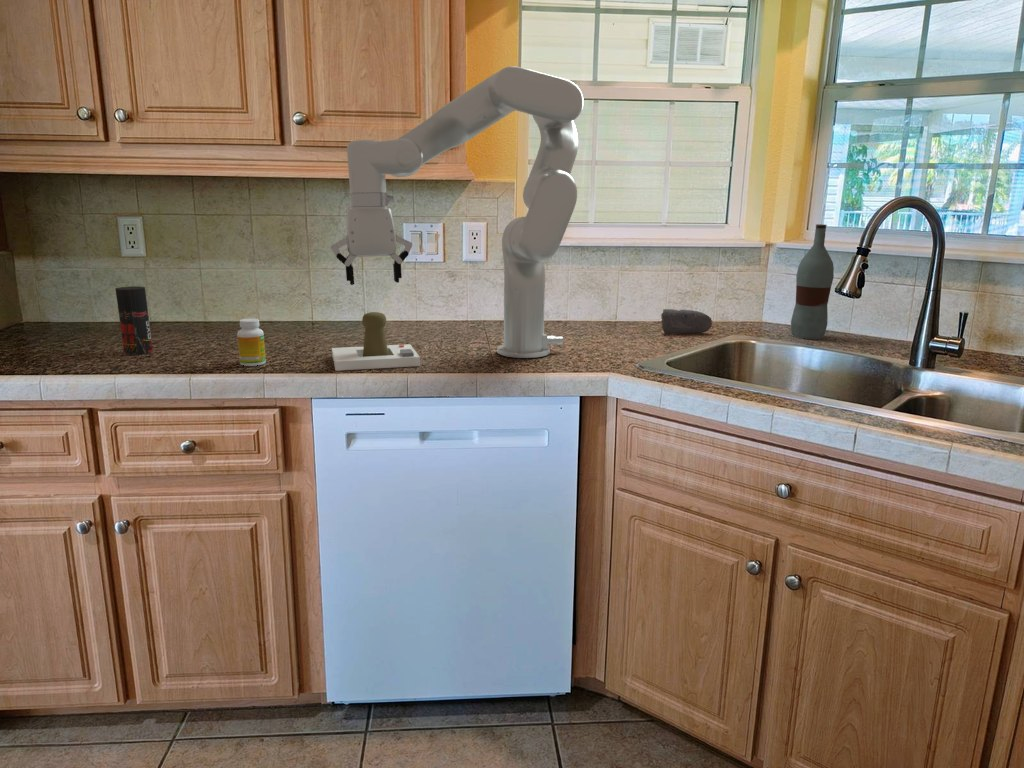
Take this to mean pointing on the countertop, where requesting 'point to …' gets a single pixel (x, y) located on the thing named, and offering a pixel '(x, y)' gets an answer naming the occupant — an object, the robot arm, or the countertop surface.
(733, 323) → the countertop surface
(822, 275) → the vodka
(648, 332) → the countertop surface
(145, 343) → the deodorant
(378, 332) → the cork
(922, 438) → the countertop surface
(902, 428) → the countertop surface
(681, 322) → the perforated stone tool
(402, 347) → the white flat base
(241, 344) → the supplement bottle
